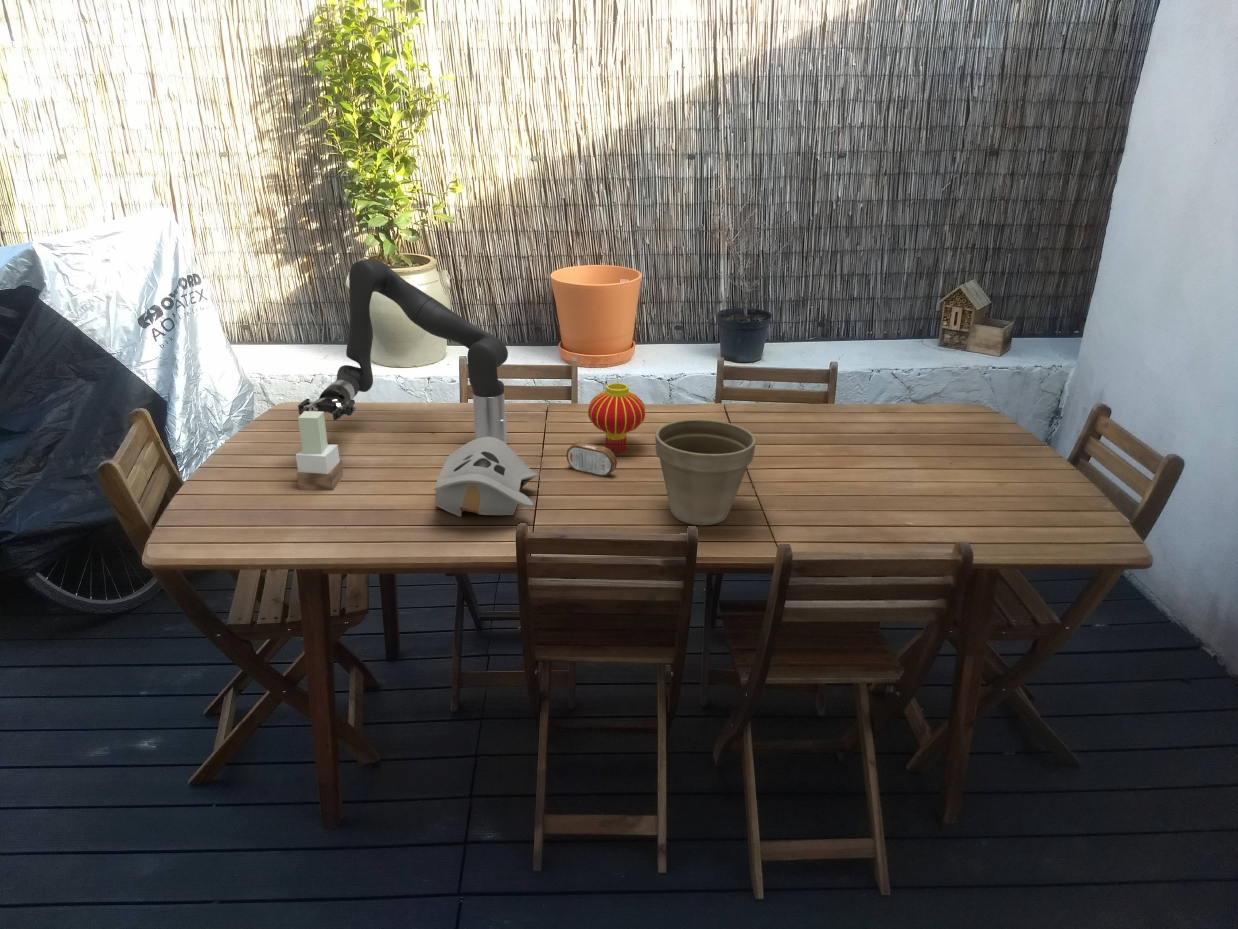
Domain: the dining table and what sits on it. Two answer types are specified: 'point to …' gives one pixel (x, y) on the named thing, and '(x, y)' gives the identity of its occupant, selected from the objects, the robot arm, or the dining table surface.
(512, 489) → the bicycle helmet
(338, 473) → the tower bottom
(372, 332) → the robot arm
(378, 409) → the dining table surface
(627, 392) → the lantern
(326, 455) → the tower top
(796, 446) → the dining table surface
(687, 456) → the plant pot
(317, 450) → the block
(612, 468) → the tin
